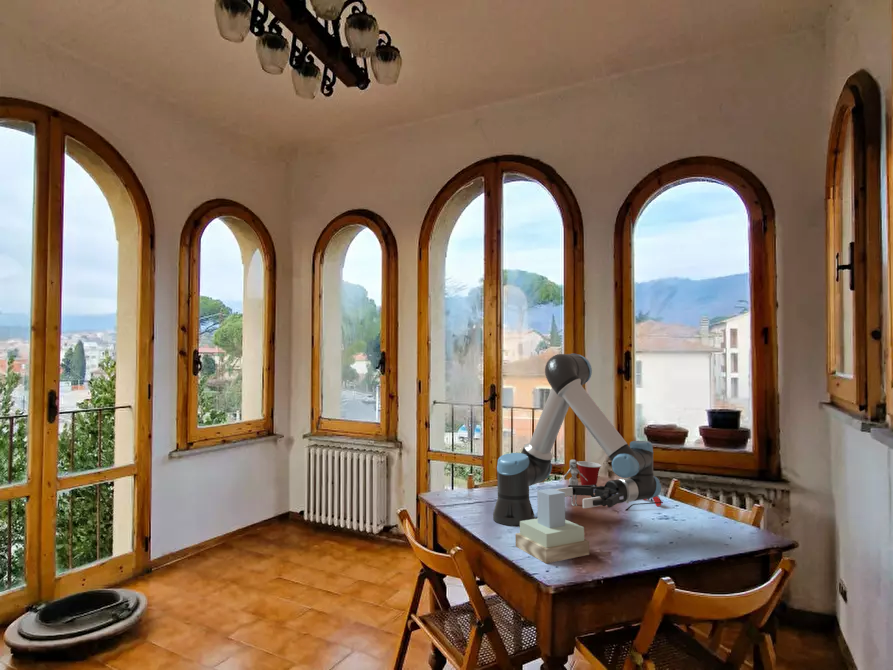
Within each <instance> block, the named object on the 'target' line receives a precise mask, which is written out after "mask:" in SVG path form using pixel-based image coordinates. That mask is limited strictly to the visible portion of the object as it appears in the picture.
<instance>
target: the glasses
mask: <svg viewBox="0 0 893 670" xmlns="http://www.w3.org/2000/svg"><path fill="white" fill-rule="evenodd" d="M647 500H648V501H649V500H650V501H651V502H641V503H633V504H631V505H630V506H628V507H627V508H626V509H625V511H628V510H630V508H631V507H633V506H635V505H648V504H649V505H652V504H653V505H654V504H655V506H656V507H658V508H659V507H660V506H661V505H662V504H663V503H664V502H663V501H662V499H661V497H660V496H659V495H658V496H656V497H654V498H650V499H643V501H647Z"/></svg>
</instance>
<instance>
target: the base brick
mask: <svg viewBox="0 0 893 670" xmlns="http://www.w3.org/2000/svg"><path fill="white" fill-rule="evenodd" d="M515 547H516V548H517V549H519V550H521V551H523V552H525V553H526V554H529V555H530V556H532V557H533V558H536V559H537V560H539V561H541V562H543V563H545V564H550V563H551V564H552V563H556V562H560V561H564V560H565V561H566V560H570V559H574V558H578V557H579V558H580V557H584V556H589V555H590V541H589V540H588V539H585V538H584V541H580V542H575V543H570V544H565V545H560V546H555V547H549V548H546V547H544V546H542V545H540V544H538V543H536V542H534V541H532V540H530V539H528V538H527V537H525V536H523V535H521V534H520V532H518V533H515Z"/></svg>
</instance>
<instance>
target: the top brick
mask: <svg viewBox="0 0 893 670" xmlns="http://www.w3.org/2000/svg"><path fill="white" fill-rule="evenodd" d="M519 533H520V534H521V535H523V536H525V537H527V538H528V539H530V540H532V541H534V542H536V543H538V544H540V545H542V546H544V547H546V548H549V547H555V546H560V545H565V544H570V543H575V542H580V541H584V539H585V527H584V526H582V525H579V524H578V523H574V522H573V521H570V520H567V519H565V526H560V527H554V528H548V527H545V526H543V525H541V524H539V523H538V517H537V518H534V519H530V520H524V521H520V525H519Z"/></svg>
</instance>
